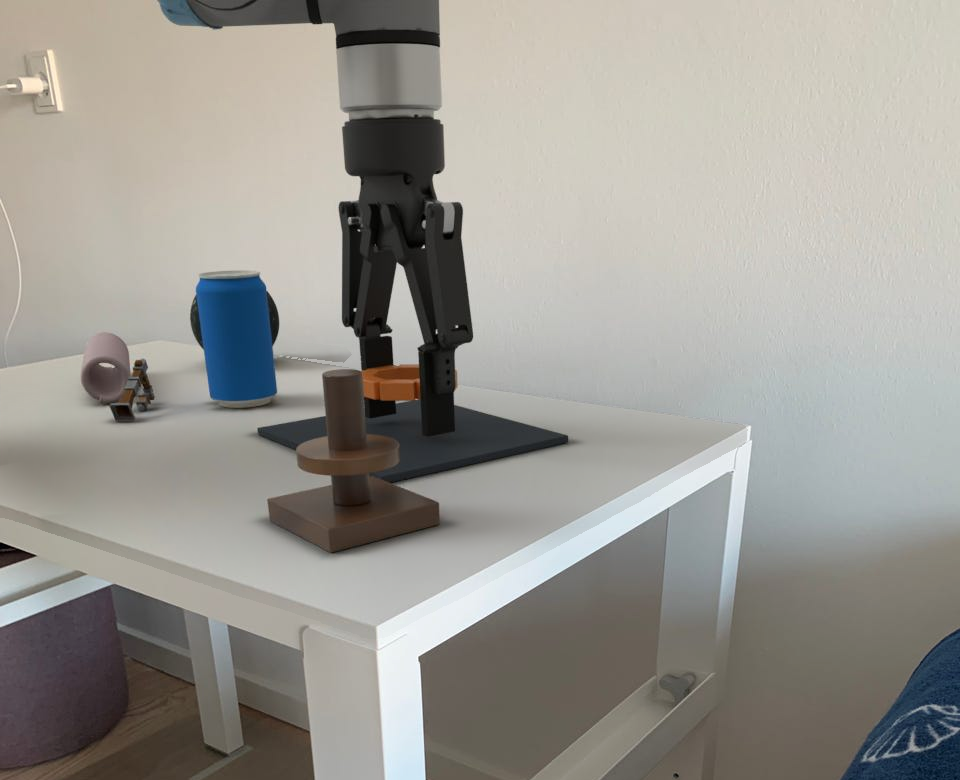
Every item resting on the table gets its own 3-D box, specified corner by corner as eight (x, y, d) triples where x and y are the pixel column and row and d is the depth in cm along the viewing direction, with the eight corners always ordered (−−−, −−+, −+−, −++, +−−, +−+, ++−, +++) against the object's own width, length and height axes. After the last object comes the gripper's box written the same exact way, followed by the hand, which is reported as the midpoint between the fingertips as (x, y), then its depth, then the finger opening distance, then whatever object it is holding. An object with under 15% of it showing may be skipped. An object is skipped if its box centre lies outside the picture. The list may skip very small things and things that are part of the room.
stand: (269, 520, 65) (251, 372, 61) (373, 496, 69) (363, 356, 65) (330, 553, 59) (316, 391, 55) (440, 524, 64) (434, 372, 60)
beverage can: (288, 403, 98) (275, 273, 93) (225, 412, 95) (208, 278, 89) (262, 392, 103) (248, 268, 97) (201, 401, 99) (183, 273, 94)
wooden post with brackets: (163, 391, 99) (150, 352, 96) (142, 442, 94) (127, 403, 91) (145, 392, 99) (131, 352, 96) (123, 443, 94) (108, 403, 91)
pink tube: (79, 335, 112) (73, 361, 96) (122, 327, 113) (123, 352, 97) (92, 377, 114) (88, 408, 98) (133, 369, 115) (136, 399, 100)
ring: (340, 390, 83) (339, 373, 83) (419, 377, 88) (419, 360, 87) (393, 405, 77) (392, 387, 77) (475, 390, 82) (474, 373, 81)
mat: (257, 434, 86) (256, 427, 86) (428, 403, 96) (428, 397, 96) (382, 484, 72) (381, 476, 72) (568, 442, 82) (568, 435, 82)
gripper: (521, 109, 68) (522, 439, 78) (362, 123, 83) (380, 398, 93) (431, 108, 64) (445, 456, 74) (280, 123, 79) (308, 410, 89)
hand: (408, 423), depth 84 cm, fingers closed on ring, 8 cm apart
